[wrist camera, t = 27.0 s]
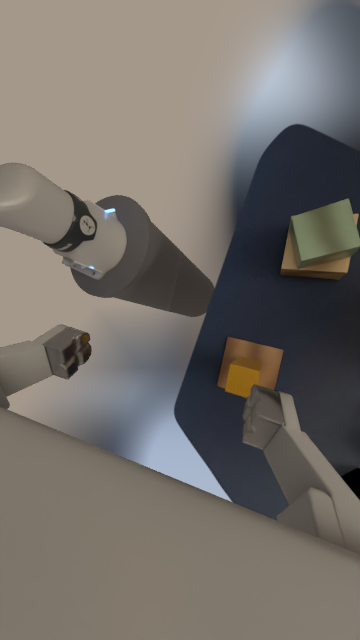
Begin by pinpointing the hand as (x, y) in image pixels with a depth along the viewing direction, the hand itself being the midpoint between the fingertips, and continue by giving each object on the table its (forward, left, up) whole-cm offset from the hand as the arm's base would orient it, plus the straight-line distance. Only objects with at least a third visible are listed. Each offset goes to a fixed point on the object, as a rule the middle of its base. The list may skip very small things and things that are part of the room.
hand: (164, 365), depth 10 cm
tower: (+8, +19, -32) cm, 38 cm away
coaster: (+2, -4, -32) cm, 33 cm away
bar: (+2, -4, -32) cm, 32 cm away
